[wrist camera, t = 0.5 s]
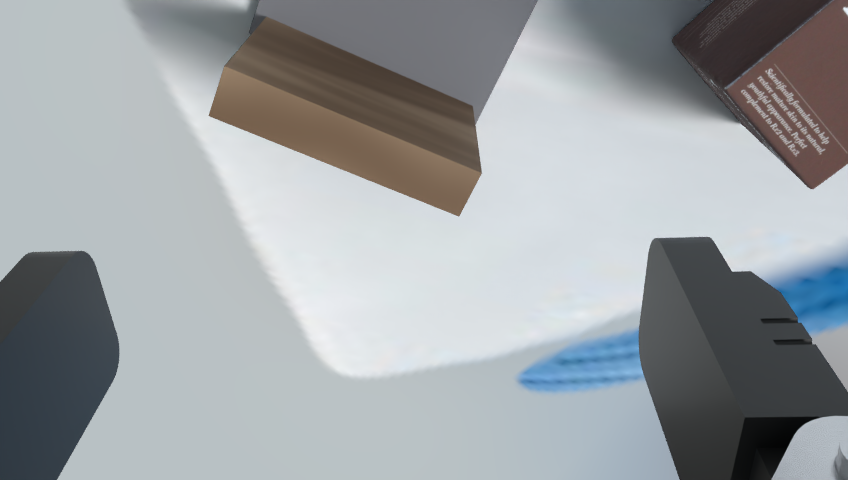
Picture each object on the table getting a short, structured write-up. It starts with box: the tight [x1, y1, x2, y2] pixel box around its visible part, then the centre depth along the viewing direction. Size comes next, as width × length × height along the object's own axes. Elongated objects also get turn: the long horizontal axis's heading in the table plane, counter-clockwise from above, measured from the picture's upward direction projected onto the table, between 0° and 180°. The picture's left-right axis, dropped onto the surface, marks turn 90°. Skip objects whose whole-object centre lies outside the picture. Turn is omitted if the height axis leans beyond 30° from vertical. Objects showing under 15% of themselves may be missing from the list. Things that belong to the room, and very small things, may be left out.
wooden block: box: [209, 17, 482, 216], centre depth 31 cm, size 2×10×8 cm, turn 66°
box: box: [672, 0, 848, 189], centre depth 31 cm, size 6×6×7 cm
